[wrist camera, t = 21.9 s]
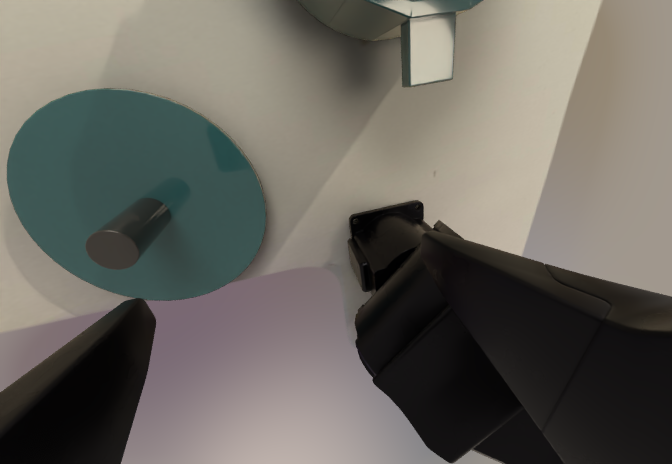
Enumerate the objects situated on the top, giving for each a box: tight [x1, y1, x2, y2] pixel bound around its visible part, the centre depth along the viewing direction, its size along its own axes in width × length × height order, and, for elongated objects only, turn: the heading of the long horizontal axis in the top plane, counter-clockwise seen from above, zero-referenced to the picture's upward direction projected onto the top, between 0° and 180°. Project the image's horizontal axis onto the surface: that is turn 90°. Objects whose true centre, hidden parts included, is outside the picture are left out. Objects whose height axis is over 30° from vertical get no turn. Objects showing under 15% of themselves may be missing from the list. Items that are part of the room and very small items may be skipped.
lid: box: [7, 88, 266, 301], centre depth 17 cm, size 15×15×6 cm
